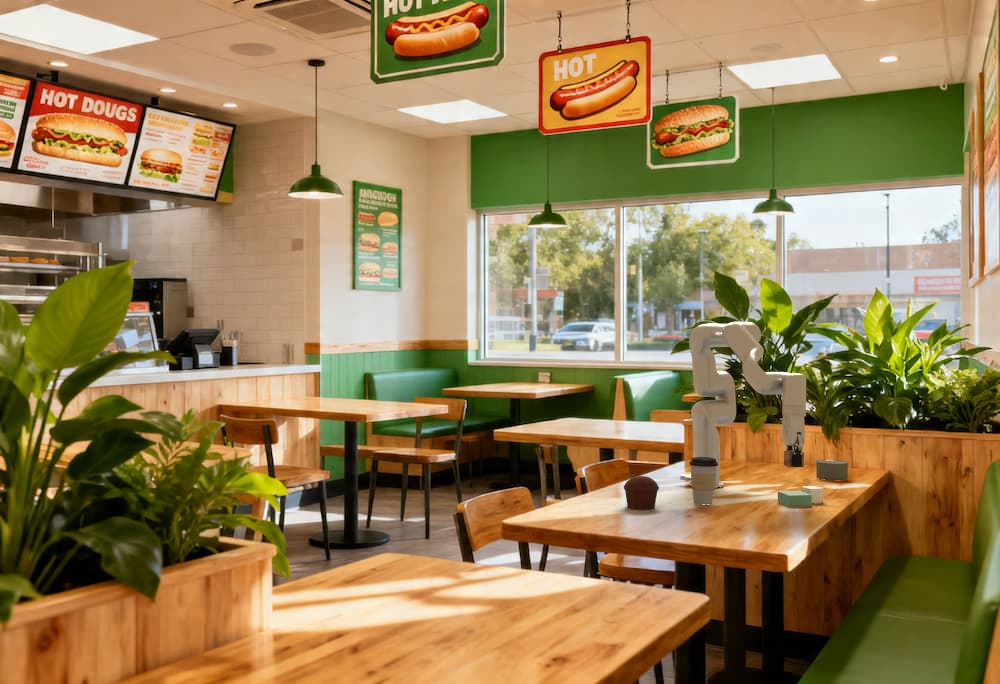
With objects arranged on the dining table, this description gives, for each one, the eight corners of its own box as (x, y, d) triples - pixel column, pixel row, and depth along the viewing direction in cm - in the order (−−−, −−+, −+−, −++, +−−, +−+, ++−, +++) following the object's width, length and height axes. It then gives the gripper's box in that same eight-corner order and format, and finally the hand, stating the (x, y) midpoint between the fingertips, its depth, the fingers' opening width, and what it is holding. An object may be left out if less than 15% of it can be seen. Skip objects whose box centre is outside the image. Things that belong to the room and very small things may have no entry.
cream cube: (810, 503, 313) (810, 488, 313) (801, 501, 318) (801, 486, 318) (823, 503, 315) (823, 488, 315) (814, 500, 319) (814, 485, 319)
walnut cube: (788, 467, 309) (788, 452, 309) (783, 465, 314) (783, 450, 314) (803, 467, 309) (803, 452, 309) (798, 465, 314) (798, 450, 314)
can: (819, 481, 362) (819, 463, 362) (812, 476, 374) (813, 459, 374) (851, 481, 360) (851, 464, 360) (844, 477, 372) (844, 459, 372)
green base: (788, 507, 307) (788, 495, 307) (777, 503, 315) (777, 491, 315) (811, 507, 309) (811, 495, 308) (799, 502, 316) (799, 490, 316)
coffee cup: (686, 505, 308) (687, 459, 308) (691, 500, 317) (691, 456, 317) (715, 507, 305) (716, 461, 305) (719, 502, 314) (720, 457, 314)
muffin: (638, 512, 296) (638, 480, 296) (615, 506, 305) (616, 475, 305) (666, 508, 302) (666, 477, 302) (643, 503, 312) (644, 473, 311)
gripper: (774, 408, 320) (774, 462, 320) (791, 412, 303) (791, 469, 303) (796, 408, 320) (796, 462, 320) (814, 412, 303) (814, 469, 303)
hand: (793, 464), depth 312 cm, fingers closed on walnut cube, 5 cm apart
